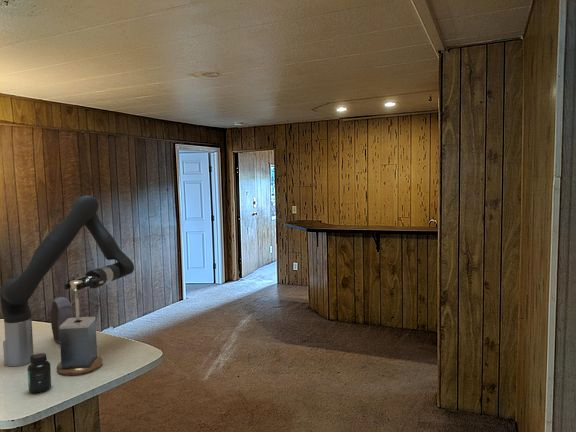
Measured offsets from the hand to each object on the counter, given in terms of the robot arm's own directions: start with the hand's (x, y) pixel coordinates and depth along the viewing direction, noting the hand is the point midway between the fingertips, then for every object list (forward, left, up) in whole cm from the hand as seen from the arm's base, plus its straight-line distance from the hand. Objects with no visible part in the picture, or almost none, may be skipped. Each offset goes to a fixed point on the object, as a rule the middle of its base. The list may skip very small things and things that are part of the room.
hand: (71, 287), depth 164 cm
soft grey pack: (-15, +34, -32) cm, 49 cm away
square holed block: (+1, +3, -32) cm, 32 cm away
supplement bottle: (-7, -14, -32) cm, 36 cm away
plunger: (+1, +3, -21) cm, 21 cm away
